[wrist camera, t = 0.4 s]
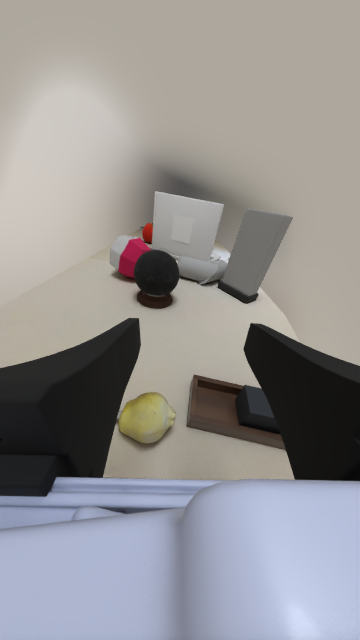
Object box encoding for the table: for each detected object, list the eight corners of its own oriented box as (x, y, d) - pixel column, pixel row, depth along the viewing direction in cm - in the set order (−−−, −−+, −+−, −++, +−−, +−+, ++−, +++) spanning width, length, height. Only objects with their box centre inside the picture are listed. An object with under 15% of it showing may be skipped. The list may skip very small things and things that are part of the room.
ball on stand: (124, 297, 51) (122, 246, 42) (153, 286, 61) (156, 242, 52) (156, 315, 46) (161, 261, 37) (182, 300, 55) (191, 254, 47)
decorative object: (150, 244, 51) (109, 221, 52) (132, 287, 56) (95, 265, 57) (164, 250, 65) (132, 232, 66) (149, 284, 70) (119, 267, 71)
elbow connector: (201, 289, 62) (229, 280, 74) (203, 259, 57) (233, 255, 70) (170, 281, 73) (199, 274, 86) (169, 255, 68) (200, 253, 81)
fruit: (111, 399, 26) (174, 395, 27) (103, 447, 22) (176, 440, 23) (98, 390, 21) (175, 385, 22) (86, 449, 18) (178, 440, 19)
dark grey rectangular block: (277, 435, 25) (293, 422, 23) (238, 426, 25) (250, 412, 23) (268, 406, 29) (281, 393, 26) (235, 398, 29) (244, 384, 26)
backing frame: (286, 450, 24) (296, 444, 23) (186, 426, 25) (189, 419, 23) (271, 400, 30) (277, 393, 29) (191, 382, 31) (193, 374, 29)
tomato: (140, 239, 116) (141, 220, 110) (160, 241, 121) (162, 223, 115) (143, 244, 107) (144, 224, 100) (164, 246, 112) (166, 227, 105)
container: (242, 308, 63) (302, 223, 42) (210, 281, 71) (247, 199, 51) (252, 304, 67) (312, 225, 47) (221, 279, 75) (259, 202, 55)
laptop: (219, 259, 107) (234, 207, 90) (206, 269, 86) (223, 204, 70) (172, 246, 116) (178, 196, 100) (150, 252, 96) (154, 190, 79)
